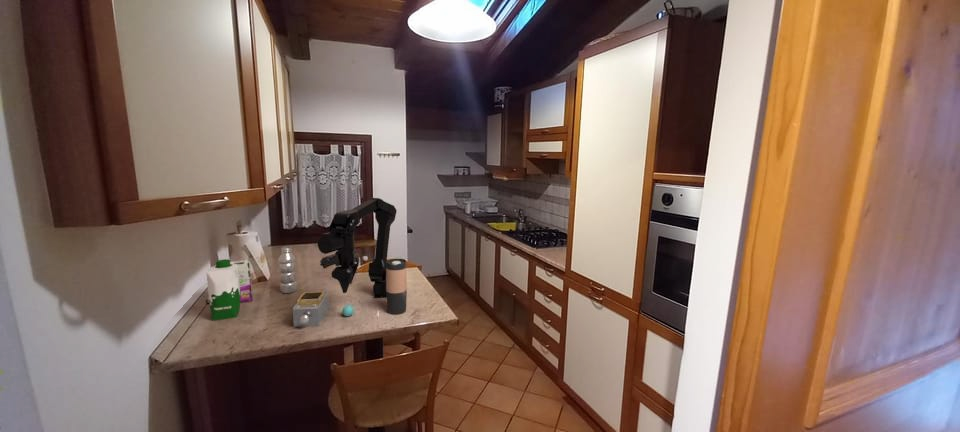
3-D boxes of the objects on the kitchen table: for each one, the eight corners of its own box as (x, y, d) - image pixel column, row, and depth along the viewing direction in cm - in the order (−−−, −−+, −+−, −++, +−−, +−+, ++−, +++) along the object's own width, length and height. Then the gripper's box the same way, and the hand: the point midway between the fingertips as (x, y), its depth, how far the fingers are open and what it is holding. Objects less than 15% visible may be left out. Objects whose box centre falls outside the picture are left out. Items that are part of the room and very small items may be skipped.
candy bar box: (252, 296, 140) (249, 258, 138) (252, 300, 136) (249, 261, 134) (219, 301, 134) (215, 262, 132) (217, 306, 130) (213, 265, 128)
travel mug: (400, 305, 136) (399, 257, 133) (410, 311, 131) (410, 261, 128) (383, 310, 131) (382, 260, 128) (393, 317, 125) (392, 265, 122)
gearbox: (328, 308, 131) (328, 288, 129) (316, 329, 115) (315, 305, 113) (306, 310, 129) (305, 289, 128) (291, 330, 113) (289, 307, 112)
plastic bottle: (301, 289, 149) (298, 245, 146) (291, 295, 142) (288, 249, 139) (287, 288, 150) (284, 245, 147) (276, 294, 143) (273, 248, 140)
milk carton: (243, 308, 129) (238, 258, 126) (239, 318, 121) (234, 264, 118) (214, 312, 125) (209, 260, 122) (208, 322, 117) (202, 267, 114)
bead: (354, 313, 128) (354, 303, 127) (353, 317, 124) (352, 307, 123) (343, 313, 127) (343, 303, 126) (341, 318, 123) (341, 308, 122)
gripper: (328, 241, 129) (330, 280, 131) (314, 254, 111) (316, 299, 113) (359, 241, 131) (360, 279, 133) (349, 253, 113) (351, 297, 115)
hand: (347, 288), depth 124 cm, fingers open, 9 cm apart
